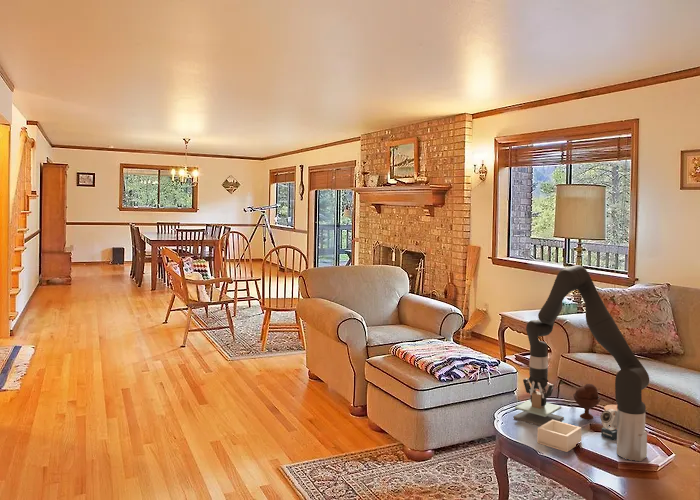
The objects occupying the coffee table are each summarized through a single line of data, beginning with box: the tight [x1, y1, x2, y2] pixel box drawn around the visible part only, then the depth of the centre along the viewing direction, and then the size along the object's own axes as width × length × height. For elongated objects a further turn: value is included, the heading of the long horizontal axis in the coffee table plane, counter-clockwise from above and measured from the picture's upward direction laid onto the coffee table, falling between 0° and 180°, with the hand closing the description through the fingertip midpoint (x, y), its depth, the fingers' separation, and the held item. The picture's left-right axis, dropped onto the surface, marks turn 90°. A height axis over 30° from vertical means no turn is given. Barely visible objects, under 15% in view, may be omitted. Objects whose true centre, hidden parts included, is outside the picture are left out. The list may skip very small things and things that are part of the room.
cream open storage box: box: [536, 420, 582, 453], centre depth 224 cm, size 12×12×6 cm
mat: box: [513, 411, 565, 427], centre depth 249 cm, size 16×14×1 cm
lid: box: [514, 390, 562, 417], centre depth 248 cm, size 14×14×8 cm
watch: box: [600, 409, 617, 441], centre depth 228 cm, size 6×8×11 cm
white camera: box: [603, 404, 618, 428], centre depth 238 cm, size 11×11×9 cm
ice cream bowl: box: [573, 383, 602, 421], centre depth 249 cm, size 11×11×15 cm
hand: (538, 404), depth 248 cm, fingers closed on lid, 4 cm apart
